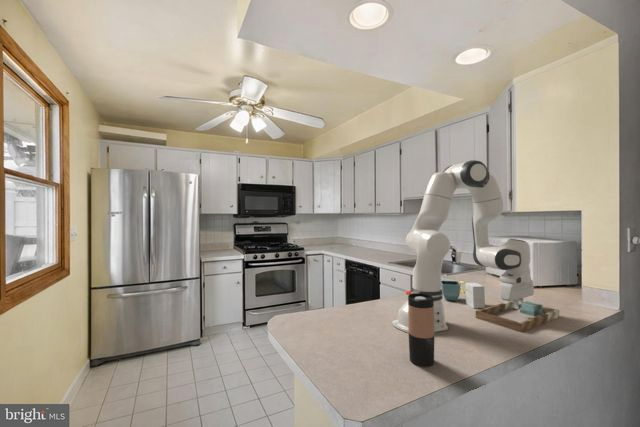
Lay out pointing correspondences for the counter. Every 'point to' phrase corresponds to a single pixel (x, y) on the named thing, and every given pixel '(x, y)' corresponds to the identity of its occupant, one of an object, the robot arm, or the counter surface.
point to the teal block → (531, 309)
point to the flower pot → (450, 290)
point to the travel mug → (421, 329)
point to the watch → (463, 283)
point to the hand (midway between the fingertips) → (517, 308)
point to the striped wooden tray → (522, 326)
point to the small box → (475, 295)
